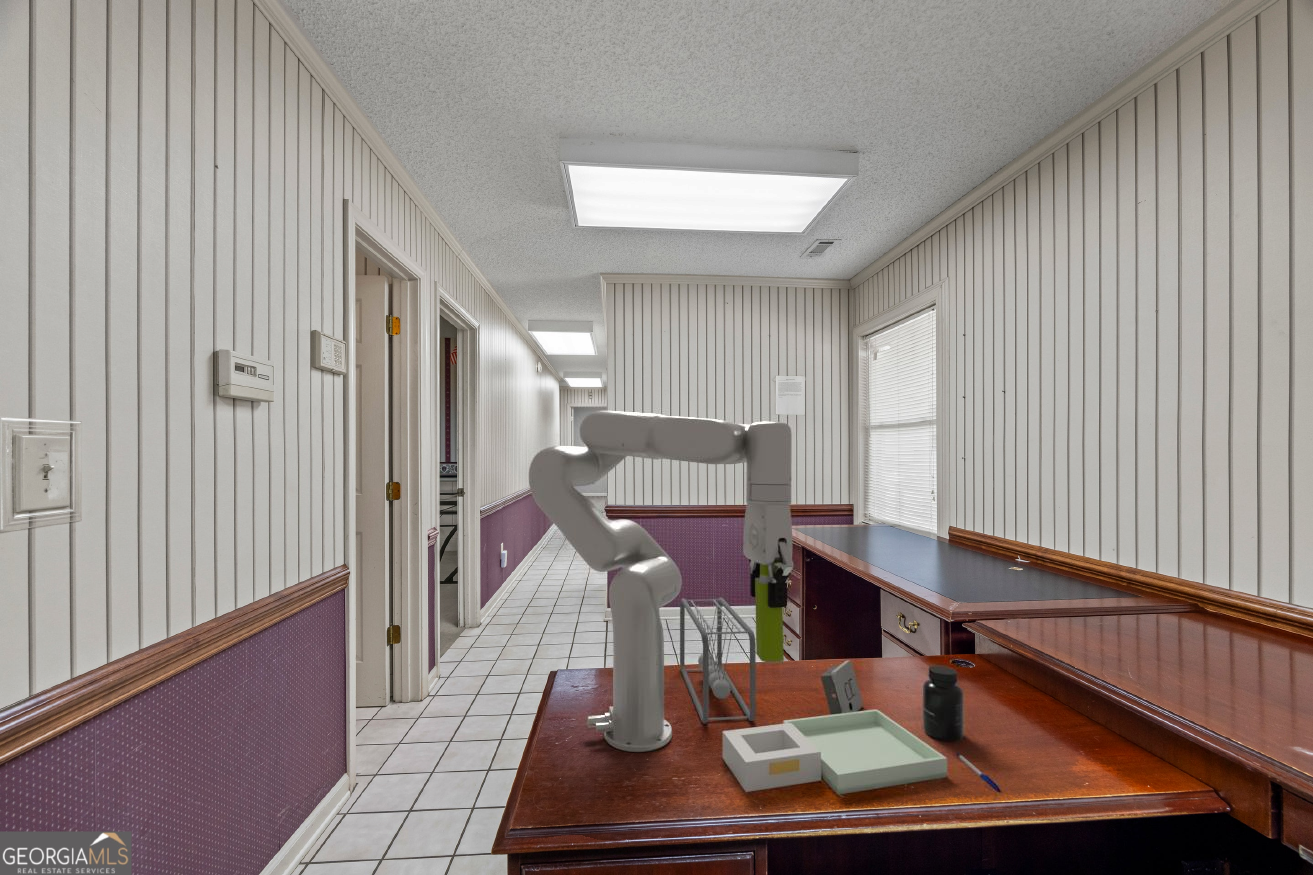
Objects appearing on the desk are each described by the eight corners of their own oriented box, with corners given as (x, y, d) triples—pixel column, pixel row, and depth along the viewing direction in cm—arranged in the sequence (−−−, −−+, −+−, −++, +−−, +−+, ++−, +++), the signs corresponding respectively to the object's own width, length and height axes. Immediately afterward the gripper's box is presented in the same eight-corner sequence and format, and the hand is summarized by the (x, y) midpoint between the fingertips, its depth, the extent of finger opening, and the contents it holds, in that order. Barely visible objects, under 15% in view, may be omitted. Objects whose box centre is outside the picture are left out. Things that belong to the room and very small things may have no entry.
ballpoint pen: (1002, 792, 85) (1002, 786, 85) (997, 793, 85) (997, 786, 85) (959, 756, 96) (959, 750, 96) (954, 756, 95) (954, 750, 95)
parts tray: (838, 794, 84) (837, 774, 84) (783, 737, 101) (783, 720, 101) (947, 776, 89) (946, 757, 89) (876, 724, 106) (876, 709, 106)
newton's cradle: (679, 668, 135) (679, 596, 135) (721, 667, 136) (721, 595, 137) (703, 728, 105) (703, 634, 106) (756, 725, 106) (756, 632, 107)
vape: (763, 663, 88) (760, 538, 90) (754, 651, 94) (752, 534, 96) (785, 662, 88) (783, 537, 90) (776, 651, 94) (773, 534, 96)
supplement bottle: (918, 734, 103) (917, 669, 103) (929, 721, 108) (928, 659, 108) (958, 747, 98) (957, 679, 99) (968, 733, 103) (967, 669, 104)
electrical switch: (848, 722, 107) (843, 673, 108) (822, 717, 110) (818, 670, 111) (864, 706, 114) (859, 660, 115) (839, 702, 118) (835, 657, 119)
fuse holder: (746, 792, 84) (746, 762, 84) (722, 757, 94) (722, 731, 94) (822, 781, 87) (821, 752, 88) (791, 748, 97) (790, 722, 98)
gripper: (729, 491, 100) (728, 590, 100) (771, 498, 84) (770, 617, 83) (766, 491, 102) (766, 588, 101) (815, 498, 85) (814, 614, 85)
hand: (768, 600), depth 92 cm, fingers closed on vape, 6 cm apart
